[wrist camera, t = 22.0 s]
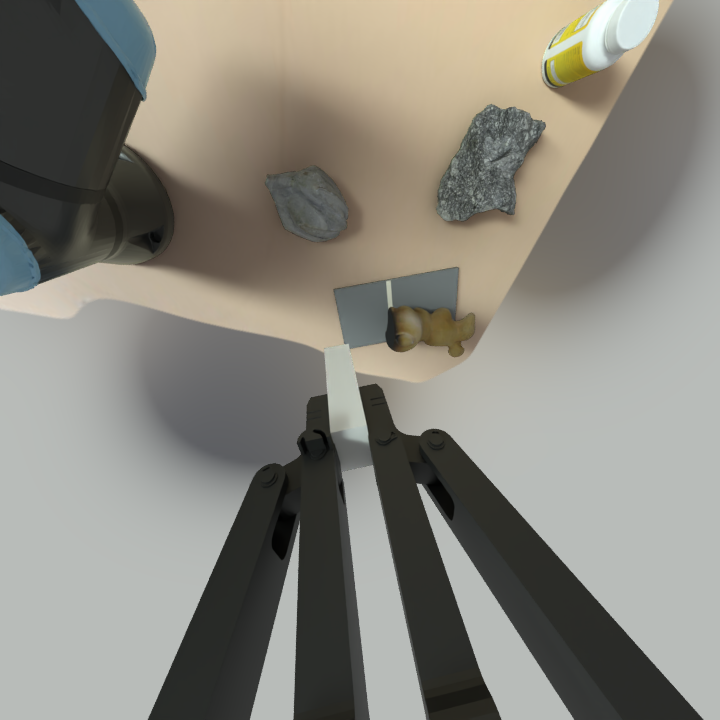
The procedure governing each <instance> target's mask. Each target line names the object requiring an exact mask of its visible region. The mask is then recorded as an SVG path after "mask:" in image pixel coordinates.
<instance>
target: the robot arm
mask: <svg viewBox="0 0 720 720" xmlns="http://www.w3.org/2000/svg"><path fill="white" fill-rule="evenodd" d="M155 57H156V45H155V41H154V37H153V34H152V31H151V29H150V27H149V25H148V22H147V20H146V19H145V17H144V15H143V14H142V12H141V11H140V9H139V8H138V6H137V5H136V4H135V2H134V1H133V0H0V296H3V295H7V294H11V293H15V292H24V291H28V290H30V289H32V288H34V286H37V285H38V284H41V283H43V282H46V281H49V280H52V279H54V278H57V277H60V276H63V275H65V274H68V273H71V272H74V271H76V270H79V269H82V268H84V267H87V266H90V265H93V264H95V263H98V262H99V263H109V264H118V265H131V264H138V263H142V262H145V261H147V260H150V259H152V258H154V257H156V256H158V255H159V254H161V253H162V252H163V251H164V250H165V249H166V247H167V246H168V245H169V243H170V241H171V238H172V235H173V230H174V216H173V210H172V206H171V203H170V200H169V197H168V195H167V193H166V191H165V189H164V187H163V185H162V184H161V182H160V180H159V179H158V177H157V176H156V175H155V173H154V172H153V171H152V170H151V168H150V167H149V166H148V165H147V164H146V163H145V162H144V161H143V160H142V159H141V158H140V157H139V156H138V155H137V154H135V153H134V152H133V151H132V150H130V149H129V148H128V147H126V146H125V145H124V143H125V140H126V138H127V135H128V133H129V130H130V128H131V125H132V122H133V120H134V117H135V115H136V112H137V110H138V107H139V104H140V102H141V101H143V102H144V101H145V100H146V96H147V95H146V86H147V83H148V80H149V77H150V74H151V70H152V67H153V64H154V61H155ZM324 353H325V366H326V379H327V394H325V395H321V396H316V397H311V398H310V400H309V402H308V404H307V421H306V431H304V432H303V433H302V434H301V435H300V436H299V438H298V441H297V445H298V447H299V450H300V452H301V455H300V456H299V457H298V458H297V459H295V460H294V461H292V462H290V463H288V464H287V465H285V466H283V467H282V466H281V465H280V464H276V463H273V464H268V465H266V466H264V467H262V468H261V469H260V470H259V471H258V472H257V473H256V475H255V476H254V478H253V480H252V482H251V484H250V486H249V489H248V491H247V493H246V496H245V498H244V500H243V503H242V505H241V507H240V510H239V512H238V514H237V517H236V519H235V521H234V523H233V526H232V528H231V530H230V532H229V535H228V537H227V539H226V542H225V544H224V546H223V548H222V551H221V553H220V555H219V558H218V560H217V562H216V565H215V567H214V569H213V572H212V574H211V576H210V578H209V581H208V583H207V585H206V588H205V590H204V592H203V594H202V597H201V599H200V601H199V604H198V606H197V608H196V611H195V613H194V615H193V618H192V620H191V622H190V624H189V626H188V629H187V631H186V634H185V636H184V638H183V640H182V643H181V645H180V647H179V650H178V652H177V654H176V656H175V659H174V661H173V663H172V666H171V668H170V670H169V673H168V675H167V677H166V679H165V682H164V684H163V686H162V689H161V691H160V693H159V695H158V698H157V700H156V702H155V705H154V707H153V709H152V711H151V714H150V716H149V718H148V720H250V716H251V712H252V708H253V704H254V700H255V696H256V692H257V688H258V684H259V680H260V676H261V673H262V669H263V665H264V661H265V656H266V653H267V649H268V645H269V641H270V637H271V633H272V629H273V625H274V620H275V617H276V613H277V609H278V605H279V601H280V597H281V593H282V589H283V585H284V581H285V577H286V573H287V569H288V565H289V561H290V557H291V553H292V549H293V545H294V541H295V537H296V533H297V529H298V525H299V521H300V537H299V568H298V600H297V631H296V664H295V693H294V694H295V695H294V719H293V720H370V718H369V711H368V702H367V692H366V683H365V674H364V665H363V655H362V647H361V638H360V628H359V618H358V609H357V600H356V591H355V582H354V572H353V564H352V554H351V545H350V535H349V526H348V517H347V508H346V499H345V490H344V482H343V479H342V473H341V470H342V471H347V470H352V469H356V468H361V467H366V466H370V465H373V466H374V471H375V477H376V482H377V486H378V491H379V496H380V500H381V505H382V510H383V515H384V519H385V524H386V529H387V534H388V538H389V543H390V548H391V553H392V557H393V562H394V567H395V571H396V576H397V581H398V586H399V590H400V595H401V600H402V605H403V609H404V614H405V619H406V623H407V628H408V633H409V638H410V643H411V647H412V652H413V656H414V662H415V666H416V671H417V675H418V680H419V685H420V690H421V695H422V699H423V704H424V709H425V714H426V720H501V717H500V715H499V712H498V710H497V707H496V705H495V703H494V700H493V698H492V696H491V694H490V692H489V690H488V688H487V686H486V684H485V682H484V680H483V677H482V675H481V672H480V669H479V667H478V664H477V661H476V658H475V655H474V652H473V649H472V646H471V643H470V640H469V637H468V634H467V631H466V629H465V626H464V623H463V620H462V617H461V614H460V611H459V608H458V605H457V602H456V599H455V596H454V593H453V590H452V587H451V585H450V581H449V578H448V576H447V573H446V570H445V567H444V564H443V561H442V558H441V555H440V552H439V549H438V546H437V543H436V540H435V537H434V535H433V532H432V528H431V526H430V523H429V520H428V517H427V514H426V511H425V508H424V505H423V502H422V500H421V496H420V493H419V490H418V487H417V484H416V483H419V484H422V485H423V487H424V488H425V490H426V491H427V493H428V494H429V496H430V497H431V499H432V501H433V502H434V504H435V505H436V507H437V508H438V510H439V511H440V513H441V515H442V516H443V518H444V519H445V521H446V522H447V524H448V525H449V527H450V528H451V530H452V532H453V533H454V535H455V536H456V538H457V539H458V541H459V542H460V544H461V545H462V547H463V548H464V550H465V552H466V553H467V554H468V556H469V558H470V559H471V561H472V562H473V564H474V565H475V567H476V569H477V570H478V572H479V573H480V575H481V576H482V577H483V579H484V581H485V582H486V584H487V586H488V587H489V589H490V590H491V592H492V593H493V595H494V596H495V598H496V599H497V601H498V603H499V604H500V606H501V607H502V609H503V610H504V612H505V613H506V615H507V616H508V618H509V619H510V621H511V623H512V624H513V626H514V627H515V629H516V630H517V632H518V633H519V635H520V636H521V638H522V640H523V641H524V643H525V644H526V646H527V647H528V649H529V650H530V652H531V653H532V655H533V656H534V658H535V660H536V661H537V663H538V664H539V666H540V667H541V669H542V670H543V672H544V673H545V675H546V677H547V678H548V680H549V681H550V683H551V684H552V686H553V687H554V689H555V691H556V692H557V694H558V695H559V697H560V698H561V700H562V701H563V703H564V704H565V706H566V707H567V709H568V711H569V712H570V713H571V715H572V717H573V718H574V720H703V719H702V718H701V716H700V715H699V714H698V713H697V712H696V711H695V710H694V709H693V707H692V706H691V705H690V704H689V703H688V702H687V701H686V700H685V698H684V697H683V696H682V695H681V694H680V693H679V692H678V691H677V690H676V688H675V687H674V686H673V685H672V684H671V683H670V682H669V681H668V680H667V678H666V677H665V676H664V675H663V674H662V673H661V672H660V671H659V669H658V668H656V666H655V665H654V664H653V663H652V662H651V661H650V659H649V658H648V657H647V656H646V655H645V654H644V653H643V651H642V650H641V649H640V648H639V647H638V646H637V645H636V644H635V642H634V641H633V640H632V639H631V638H630V637H629V636H628V635H627V634H626V632H625V631H624V630H623V629H622V628H621V627H620V626H619V625H618V623H617V622H616V621H615V620H614V619H613V618H612V617H611V616H610V614H609V613H608V612H607V611H606V610H605V609H604V608H603V607H602V606H601V604H600V603H599V602H598V601H597V600H596V599H595V598H594V597H593V596H592V594H591V593H590V592H589V591H588V590H587V589H586V588H585V586H584V585H583V584H582V583H581V582H580V581H579V580H578V579H577V577H576V576H575V575H574V574H573V573H572V572H571V571H570V570H569V569H568V567H567V566H566V565H565V564H564V563H563V562H562V561H561V560H560V559H559V557H558V556H557V555H556V554H555V553H554V552H553V551H552V549H551V548H550V547H549V546H548V545H547V544H546V543H545V542H544V541H543V539H542V538H541V537H540V536H539V535H538V534H537V533H536V532H535V530H533V528H532V527H531V526H530V525H529V524H528V523H527V522H526V520H525V519H524V518H523V517H522V516H521V515H520V514H519V513H518V511H517V510H516V509H515V508H514V507H513V506H512V505H511V504H510V503H509V502H508V500H507V499H506V498H505V497H504V496H503V495H502V494H501V492H500V491H499V490H498V489H497V488H496V487H495V486H494V484H493V483H492V482H491V481H490V480H489V479H488V478H487V477H486V476H485V475H484V473H483V472H482V471H481V470H480V469H479V468H478V467H477V465H476V464H475V463H474V462H473V461H472V460H471V459H470V458H469V456H468V455H467V454H466V453H465V452H464V451H463V450H462V449H461V448H460V446H459V445H458V444H457V443H456V442H455V441H454V440H453V439H452V438H451V436H450V435H448V434H447V433H446V432H445V431H442V430H439V429H430V430H426V431H425V432H423V433H422V435H421V436H412V435H406V434H403V433H401V432H400V431H398V429H396V427H395V425H394V423H393V420H392V417H391V414H390V411H389V408H388V405H387V402H386V399H385V396H384V393H383V390H382V389H381V388H380V387H379V386H378V385H377V384H372V385H367V386H362V387H358V384H357V379H356V375H355V370H354V366H353V361H352V357H351V352H350V348H349V344H344V345H339V346H334V347H328V348H324Z"/></svg>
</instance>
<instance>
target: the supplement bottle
mask: <svg viewBox="0 0 720 720" xmlns="http://www.w3.org/2000/svg"><path fill="white" fill-rule="evenodd" d="M658 7H659V0H606V1H605V2H603V3H602V4H600V5H599V6H597V7H596V8H594V9H592V10H591V11H589V12H588V13H586V14H585V15H583V16H581V17H580V18H578V19H577V20H575V21H574V22H572V23H570V24H569V25H567V26H566V27H564V28H563V29H561V30H560V31H559V32H558V33H557V34H556V35H555V36H554V37H553V38H552V40H551V41H550V43H549V44H548V46H547V48H546V51H545V53H544V56H543V61H542V76H543V79H544V82H545V83H546V84H547V85H548V86H550V87H553V88H557V87H561V86H564V85H567V84H569V83H572V82H574V81H576V80H579V79H581V78H584V77H586V76H589V75H591V74H593V73H596V72H598V71H601V70H603V69H605V68H607V67H609V66H611V65H612V64H613V63H615V62H616V61H617V60H618V59H619V58H620V57H621V56H622V55H623V53H625V52H626V51H628V50H631V49H633V48H635V47H636V46H638V45H639V44H640V43H641V42H642V41H643V40H644V39H645V38H646V36H647V35H648V33H649V32H650V30H651V28H652V26H653V24H654V22H655V20H656V17H657V13H658Z"/></svg>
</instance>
